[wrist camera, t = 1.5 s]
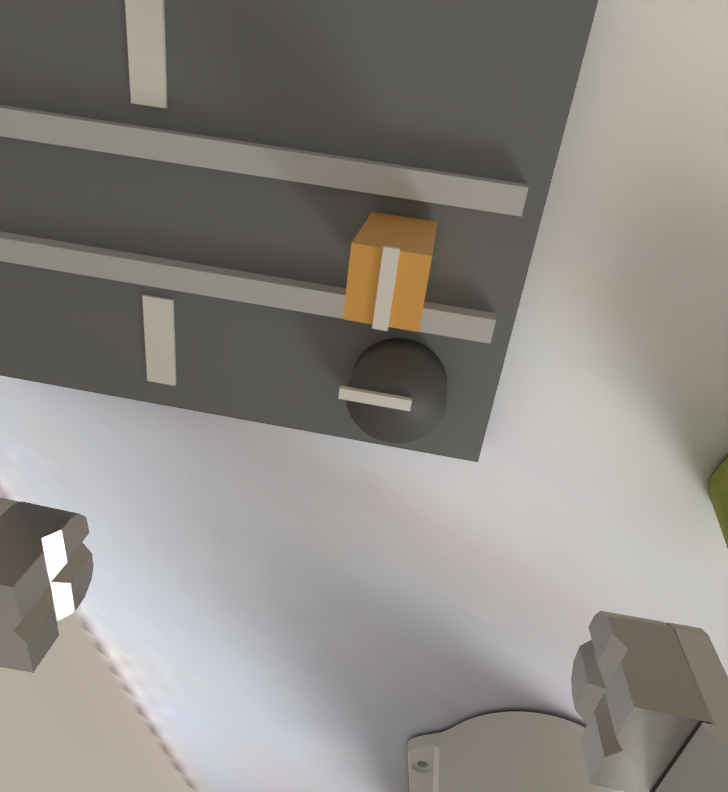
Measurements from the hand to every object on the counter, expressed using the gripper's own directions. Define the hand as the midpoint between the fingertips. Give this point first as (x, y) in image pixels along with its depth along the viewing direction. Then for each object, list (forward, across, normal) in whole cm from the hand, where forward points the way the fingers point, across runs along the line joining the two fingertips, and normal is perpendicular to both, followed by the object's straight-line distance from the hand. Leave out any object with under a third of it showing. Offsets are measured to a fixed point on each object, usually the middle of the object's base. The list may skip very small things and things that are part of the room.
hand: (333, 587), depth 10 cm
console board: (+23, +8, 0) cm, 25 cm away
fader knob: (+21, 0, 0) cm, 21 cm away
